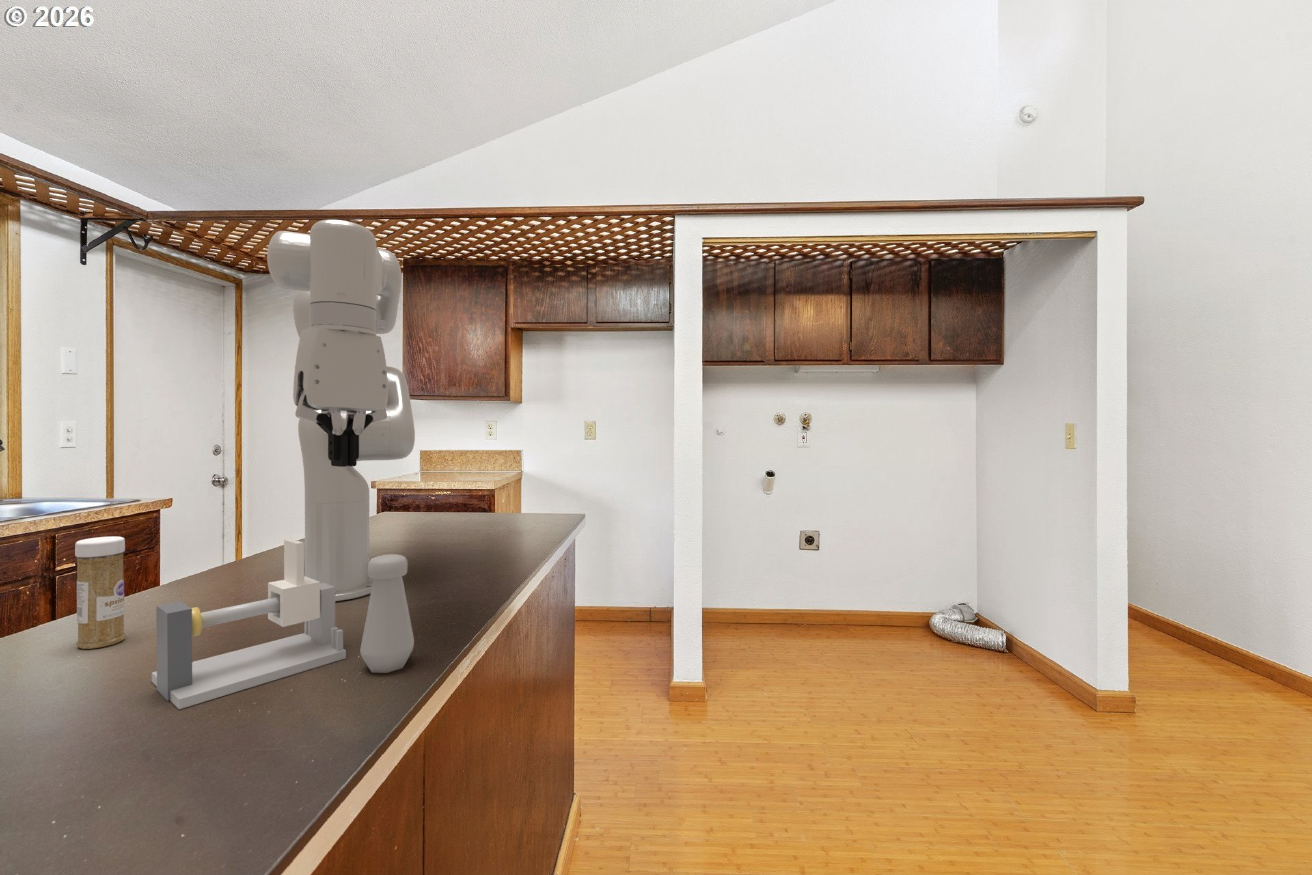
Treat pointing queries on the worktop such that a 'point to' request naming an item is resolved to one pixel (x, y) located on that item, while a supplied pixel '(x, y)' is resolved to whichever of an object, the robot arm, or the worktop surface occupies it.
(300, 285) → the robot arm
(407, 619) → the salt shaker
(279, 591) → the square collar block
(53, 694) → the worktop surface
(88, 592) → the sprinkles bottle
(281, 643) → the slider rail rig
